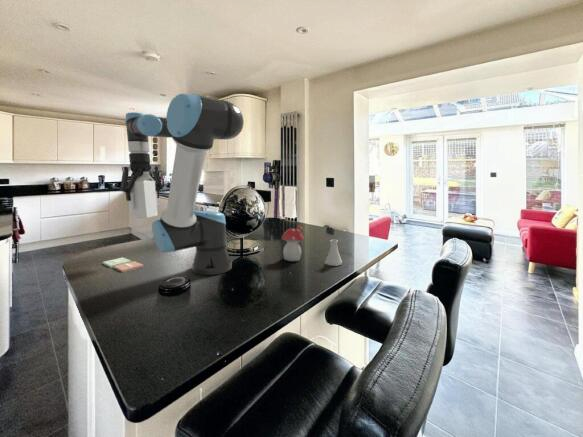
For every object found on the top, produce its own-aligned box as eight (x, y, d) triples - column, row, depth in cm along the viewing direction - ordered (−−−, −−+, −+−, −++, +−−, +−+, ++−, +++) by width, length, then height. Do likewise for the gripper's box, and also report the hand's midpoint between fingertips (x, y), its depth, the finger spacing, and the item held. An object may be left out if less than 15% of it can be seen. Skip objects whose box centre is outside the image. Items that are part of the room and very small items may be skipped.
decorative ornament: (305, 258, 131) (305, 225, 128) (299, 263, 125) (299, 228, 122) (285, 256, 134) (285, 223, 132) (279, 260, 128) (279, 226, 126)
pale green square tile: (131, 262, 126) (131, 260, 126) (110, 267, 120) (110, 265, 120) (122, 259, 131) (122, 256, 131) (102, 263, 125) (102, 261, 125)
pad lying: (143, 266, 121) (143, 264, 121) (122, 272, 115) (122, 269, 114) (134, 262, 126) (134, 260, 125) (113, 267, 119) (113, 265, 119)
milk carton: (146, 218, 121) (142, 171, 118) (131, 218, 123) (127, 171, 120) (157, 215, 128) (154, 171, 125) (143, 215, 130) (139, 171, 127)
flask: (345, 262, 125) (345, 239, 123) (337, 267, 119) (338, 243, 117) (329, 259, 129) (330, 237, 127) (321, 264, 123) (322, 241, 122)
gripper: (160, 154, 132) (164, 204, 136) (105, 152, 115) (112, 209, 119) (169, 153, 127) (173, 205, 131) (114, 151, 110) (120, 211, 114)
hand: (144, 207), depth 125 cm, fingers closed on milk carton, 9 cm apart
